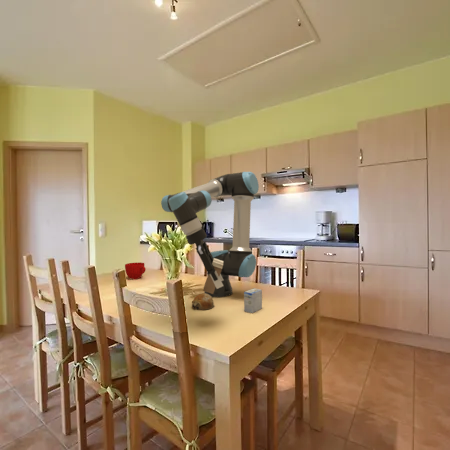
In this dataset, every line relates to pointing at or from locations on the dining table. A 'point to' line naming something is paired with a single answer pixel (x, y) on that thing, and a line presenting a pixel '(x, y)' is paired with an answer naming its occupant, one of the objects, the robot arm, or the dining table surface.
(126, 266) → the ceramic cup
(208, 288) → the walnut block
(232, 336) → the dining table surface
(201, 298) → the bread roll
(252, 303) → the medicine box
